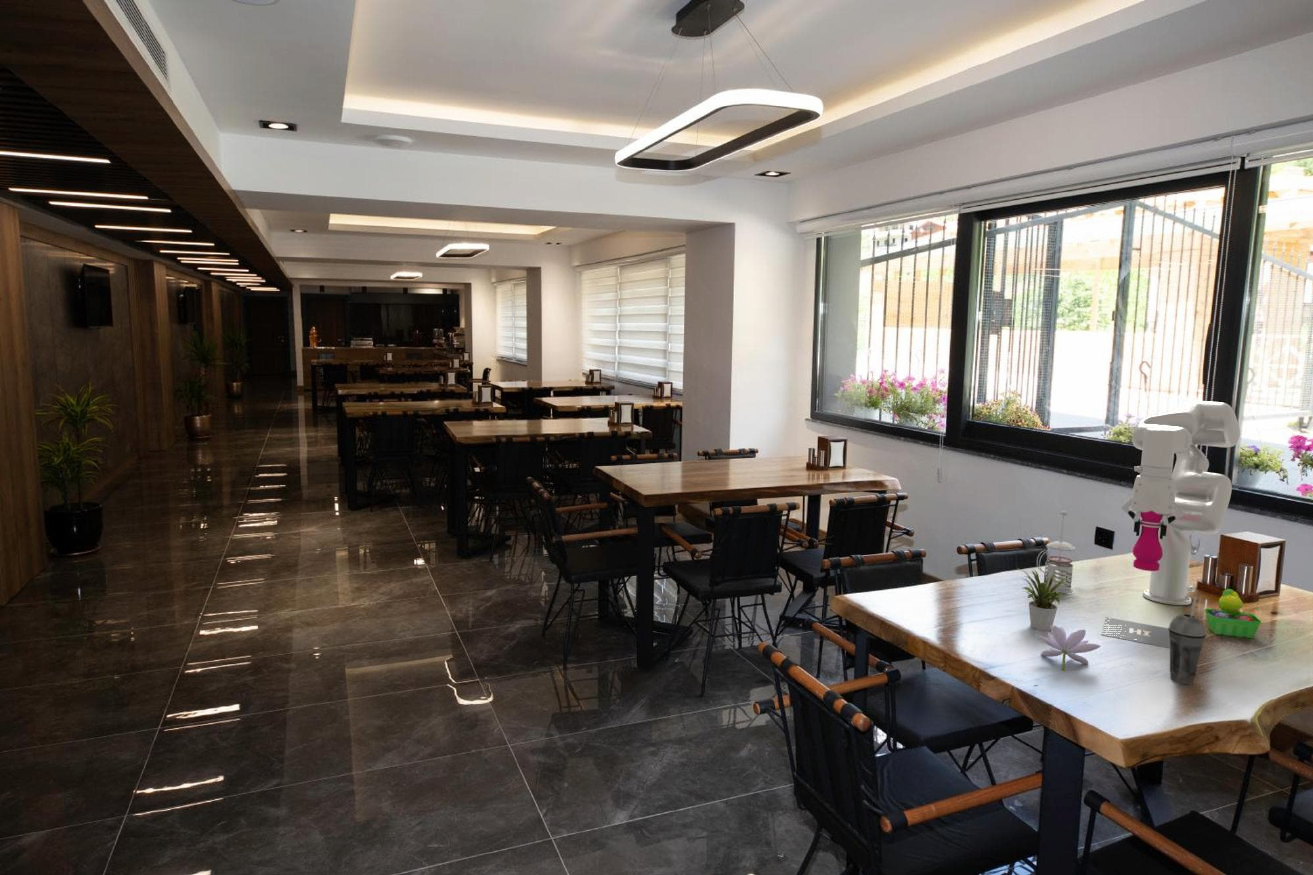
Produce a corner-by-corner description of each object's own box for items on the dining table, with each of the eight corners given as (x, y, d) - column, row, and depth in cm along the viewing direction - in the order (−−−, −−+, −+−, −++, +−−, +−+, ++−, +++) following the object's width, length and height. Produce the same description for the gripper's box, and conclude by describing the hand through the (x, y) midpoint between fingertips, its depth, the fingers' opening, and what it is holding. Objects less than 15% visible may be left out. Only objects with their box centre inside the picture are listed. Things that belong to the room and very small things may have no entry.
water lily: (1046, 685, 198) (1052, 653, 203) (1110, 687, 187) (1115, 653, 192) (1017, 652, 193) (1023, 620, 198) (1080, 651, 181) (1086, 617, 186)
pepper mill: (1153, 565, 230) (1160, 496, 228) (1166, 572, 223) (1173, 501, 220) (1126, 563, 231) (1133, 495, 228) (1138, 571, 224) (1146, 500, 221)
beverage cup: (1155, 673, 189) (1164, 591, 187) (1184, 673, 190) (1194, 591, 188) (1178, 687, 182) (1187, 601, 180) (1208, 686, 183) (1218, 601, 180)
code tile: (1101, 634, 214) (1101, 634, 214) (1105, 617, 229) (1105, 616, 229) (1177, 649, 205) (1177, 648, 205) (1176, 630, 220) (1177, 629, 220)
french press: (1080, 594, 250) (1087, 515, 247) (1042, 593, 250) (1049, 514, 247) (1065, 584, 259) (1071, 508, 256) (1028, 583, 259) (1035, 507, 256)
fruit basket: (1210, 634, 217) (1214, 594, 216) (1200, 624, 225) (1205, 584, 224) (1260, 641, 213) (1265, 599, 212) (1249, 630, 221) (1253, 590, 220)
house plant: (999, 625, 220) (1004, 567, 218) (1017, 613, 230) (1022, 558, 228) (1055, 639, 210) (1060, 579, 208) (1071, 626, 220) (1077, 568, 218)
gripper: (1119, 470, 225) (1113, 534, 227) (1193, 477, 216) (1185, 544, 218) (1121, 467, 231) (1115, 529, 233) (1192, 474, 222) (1185, 538, 224)
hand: (1149, 535), depth 226 cm, fingers closed on pepper mill, 5 cm apart
